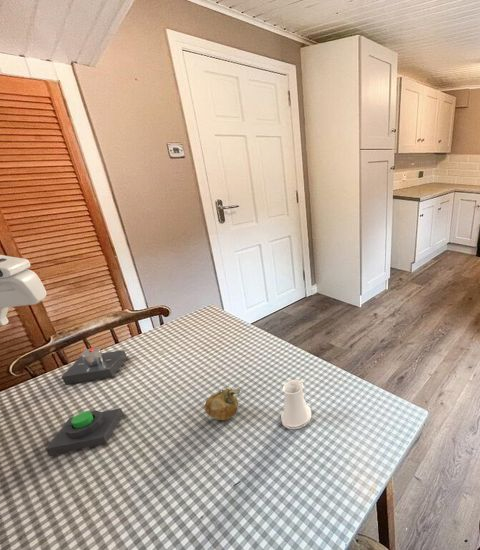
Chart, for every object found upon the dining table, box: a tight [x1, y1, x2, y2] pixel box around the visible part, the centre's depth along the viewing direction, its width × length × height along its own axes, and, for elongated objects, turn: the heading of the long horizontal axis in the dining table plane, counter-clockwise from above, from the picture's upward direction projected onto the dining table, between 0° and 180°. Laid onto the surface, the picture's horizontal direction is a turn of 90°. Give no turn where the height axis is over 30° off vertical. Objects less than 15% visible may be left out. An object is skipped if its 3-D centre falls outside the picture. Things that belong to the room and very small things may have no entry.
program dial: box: [80, 346, 104, 367], centre depth 93 cm, size 4×4×4 cm
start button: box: [71, 410, 94, 429], centre depth 72 cm, size 4×4×2 cm
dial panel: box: [61, 349, 128, 386], centre depth 94 cm, size 12×10×3 cm
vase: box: [280, 379, 312, 430], centre depth 76 cm, size 8×8×10 cm
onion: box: [204, 387, 242, 421], centre depth 77 cm, size 8×8×8 cm
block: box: [45, 407, 124, 456], centre depth 73 cm, size 11×9×4 cm
